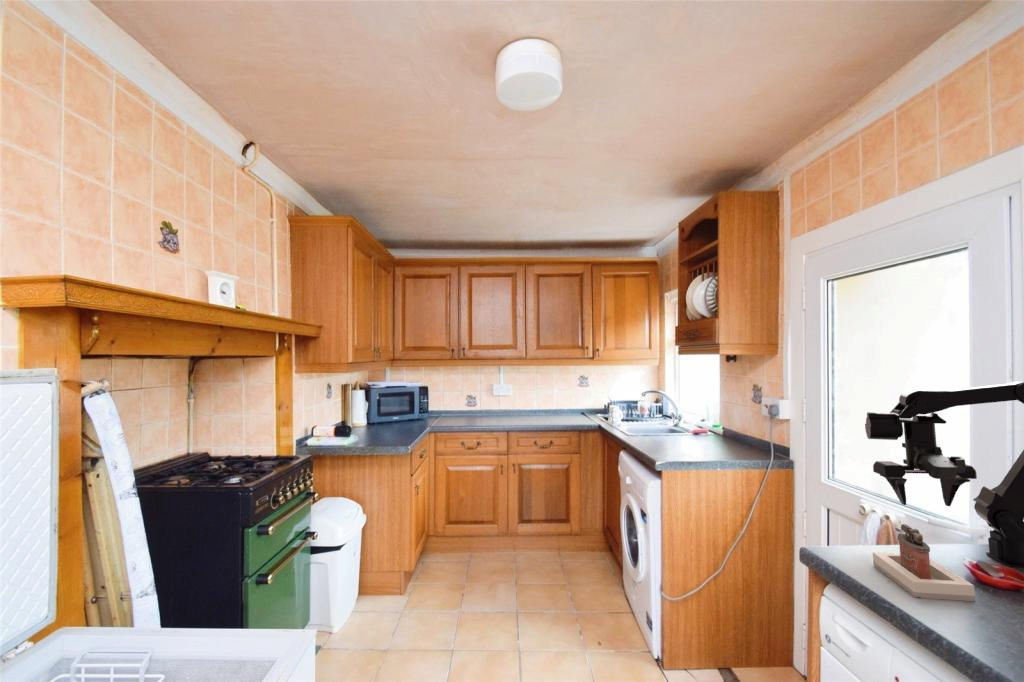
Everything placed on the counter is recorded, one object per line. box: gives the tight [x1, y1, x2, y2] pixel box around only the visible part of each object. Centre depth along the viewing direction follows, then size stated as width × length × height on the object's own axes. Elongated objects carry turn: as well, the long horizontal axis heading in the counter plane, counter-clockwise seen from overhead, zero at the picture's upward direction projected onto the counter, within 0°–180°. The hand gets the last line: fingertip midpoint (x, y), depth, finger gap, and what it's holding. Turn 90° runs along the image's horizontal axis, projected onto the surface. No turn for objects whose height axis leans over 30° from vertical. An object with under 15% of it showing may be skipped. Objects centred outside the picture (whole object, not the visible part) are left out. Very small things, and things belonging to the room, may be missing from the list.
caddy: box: [872, 551, 976, 602], centre depth 94 cm, size 10×14×3 cm
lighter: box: [897, 523, 932, 580], centre depth 94 cm, size 8×3×10 cm, turn 164°
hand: (925, 505), depth 109 cm, fingers open, 9 cm apart
